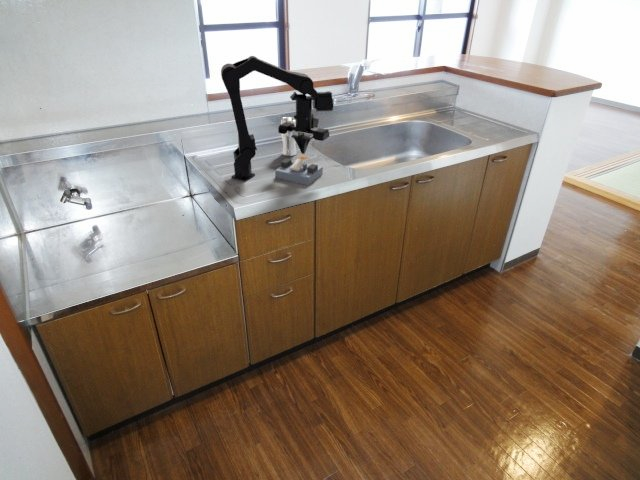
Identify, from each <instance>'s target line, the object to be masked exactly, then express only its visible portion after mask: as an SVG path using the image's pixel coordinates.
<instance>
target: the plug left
mask: <svg viewBox="0 0 640 480" xmlns="http://www.w3.org/2000/svg"><path fill="white" fill-rule="evenodd" d="M290 165H292V159H289V158H285V159H283V160H281V161H280V167H284V168H287V167H289V166H290Z"/></svg>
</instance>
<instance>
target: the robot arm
mask: <svg viewBox="0 0 640 480" xmlns="http://www.w3.org/2000/svg"><path fill="white" fill-rule="evenodd" d="M254 71H255V72H257V73H260V74H263V75H265V76H267V77H269V78H272V79H274V80H277V81H279V82H282V83H285V84H286V85H288V86H289V87H291V88H292V89H294V90H295V91H294V92H293V93H292V94H291V95H290V99H291V101H295V114H294V116H293V117H294V119H296V126H295V125H294V124H293V123H288V122H285V123H283V124H281V123H280V124H279V125H278V128H277V130H278V131H277V132H278V134H281V133H282V134H286V133H287V131H291V132H293V135H292V138H294V139H295V141H296V145H297V146H298V149H299V150H300V153H301V155H305V153H306V151H307V148H308V146H309V143H310V142H311V140H312V139H314V140H315V141H320V142H322V141H325V140H327V139H328V138H330V131H329V129H327V128H320V127H319V121H320V118H316V117H314V113H312V111H313V110H315V112H316V113H319V112H333V110H334V100H333V92H332V91H320V92H319V91H317V90H316V88H314V81H313V79H311V78H310V77H309V76H308V75H307V74H305V73H301V72H297V71H289V70H286V69H284V68H283V67H282V68H281V67H280V66H278V65H275V64H272V63H271V62H270V63H269V62H267V61H265V60H263V59H260V58H258V57H256V56H255V55H249V57H247V58H245V59H242V60H239V61H237V62H234V63H226V64H224V65H223V66H222V67H221V69H220V75H221V79H222V82H223V85H224V87H225V89H226V92H227V94H228V96H229V100H230V104H231V108H232V112H233V117H234V122H235V124H236V131H237V141H238V142H237V144H238V147H237V148H236V149H235V150H234V151H233V152H232V153H233V159H234V162H233V169H234V170H233V171H234V174H233V175H232V176H231V179H237V180H240V181H244V182H246V181H248V180H249V179H251V178H253V177H255V176H256V174H255V173H253V171H252V170H253V169H252V161H251V160H252V159H254V158H255V156H256V151H258V147H257V145H256V138H255V135H254V133H252V134H250V133H249V130H248V125H247V121H246V116H245V112H244V107H243V102H242V97H241V81H240V79H242V78H244V77H246V76H247V75H249V74H251V73H252V72H254ZM296 91H297V92H299V93H297V92H296ZM318 127H319V128H318ZM315 128H317V129H316V130H315Z"/></svg>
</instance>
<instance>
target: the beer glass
mask: <svg viewBox="0 0 640 480" xmlns="http://www.w3.org/2000/svg"><path fill="white" fill-rule="evenodd" d="M285 122H288V123H293V124H294V125H295V126H296V119H294V116H284V117H283V116H282V117H281V118H280V125H281V124H283V123H285ZM280 135H281V139H282V140H281V141H282V153H281V154H282V155H283V156H286V157H293V156H296V155H297V147H296V145H297V143H296V141H295V139H294V138H292V135H293V132H291V131H287V133H286V134H282V133H280Z"/></svg>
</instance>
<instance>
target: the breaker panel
mask: <svg viewBox="0 0 640 480" xmlns="http://www.w3.org/2000/svg"><path fill="white" fill-rule="evenodd" d="M291 160H292V159H291ZM295 161H296V160H292V165H293V163H294V162H295ZM311 164H312V163H306V162H305V163H304V164H303V166H302V167H301V169H300V170H299V171H295V170H291V169H290V167H291V166H292V165H290V166H289V167H287V168H284V167H281V166H279V167H278V168H277V169H275V170H274V174H275V175H274V177H275V178H276V179H279V180H284V181H287V182H292V183H297V184H300V185H306V186H309V185H311V184H312V183H313V182H314V181H315V180H317V179H318V178H320V176H322V175H323V171H324V170H323V168H324V166H321V165H318V170H317V171H316V172H315V173H313V174H312V173H307V167H309V166H310V165H311Z"/></svg>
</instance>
